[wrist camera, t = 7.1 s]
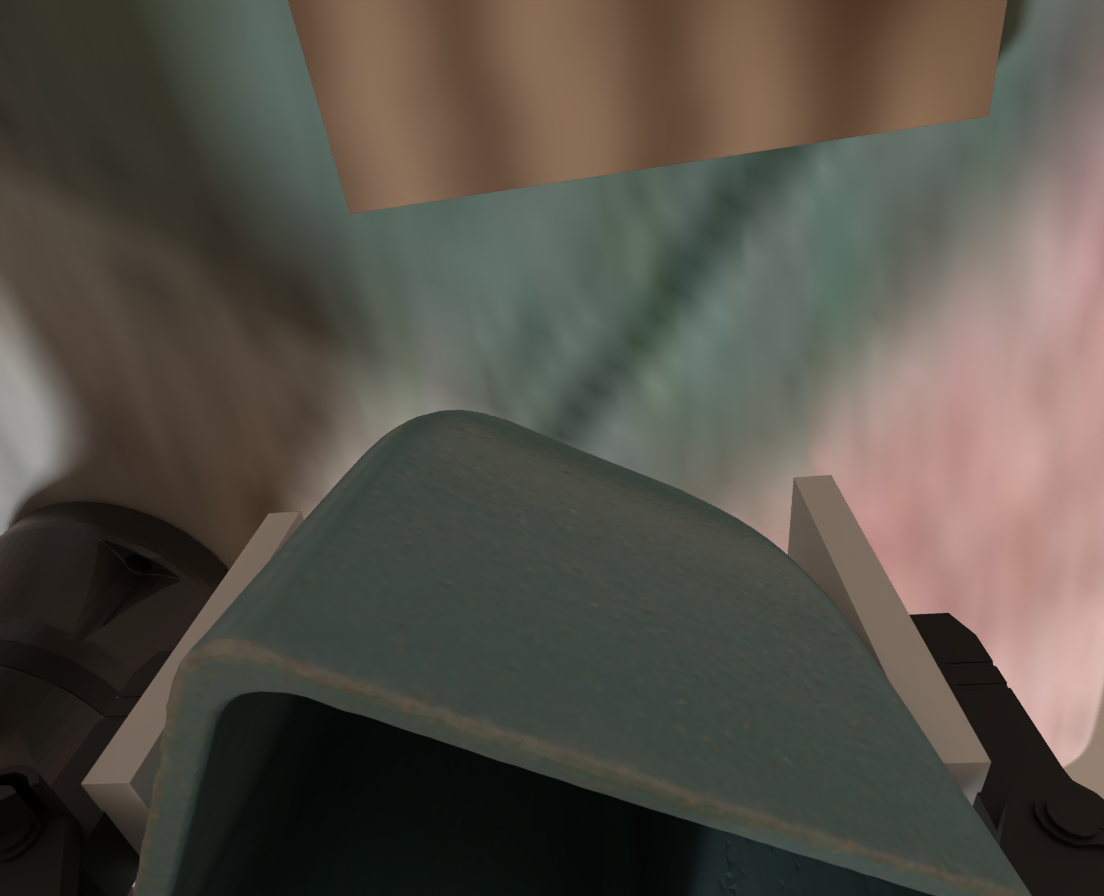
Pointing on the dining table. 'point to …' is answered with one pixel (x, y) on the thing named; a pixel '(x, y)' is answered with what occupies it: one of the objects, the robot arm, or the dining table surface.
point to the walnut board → (623, 83)
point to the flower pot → (543, 703)
